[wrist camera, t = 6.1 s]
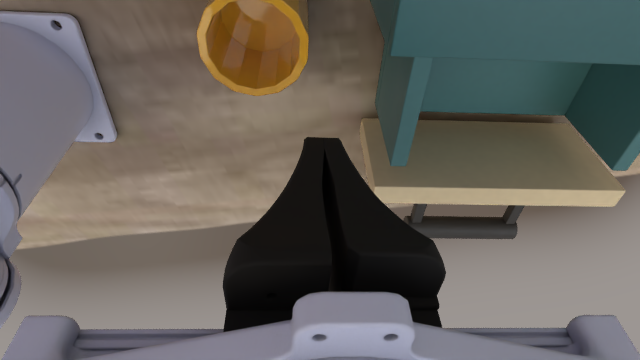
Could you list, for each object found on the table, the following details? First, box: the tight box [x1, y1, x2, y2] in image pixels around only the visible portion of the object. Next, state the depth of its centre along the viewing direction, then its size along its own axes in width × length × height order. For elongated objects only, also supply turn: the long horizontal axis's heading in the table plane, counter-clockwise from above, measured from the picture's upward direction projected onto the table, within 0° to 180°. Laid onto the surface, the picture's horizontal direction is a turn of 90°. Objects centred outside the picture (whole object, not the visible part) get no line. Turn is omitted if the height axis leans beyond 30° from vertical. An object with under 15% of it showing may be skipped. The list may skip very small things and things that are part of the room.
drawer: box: [360, 43, 640, 239], centre depth 21 cm, size 18×13×6 cm
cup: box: [197, 0, 309, 96], centre depth 19 cm, size 5×5×5 cm
